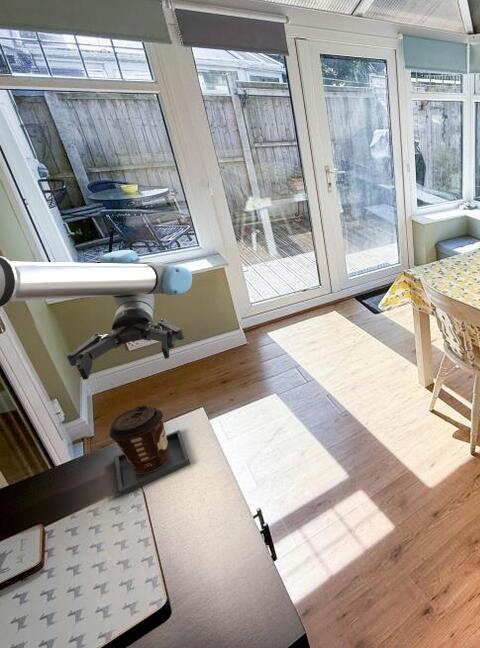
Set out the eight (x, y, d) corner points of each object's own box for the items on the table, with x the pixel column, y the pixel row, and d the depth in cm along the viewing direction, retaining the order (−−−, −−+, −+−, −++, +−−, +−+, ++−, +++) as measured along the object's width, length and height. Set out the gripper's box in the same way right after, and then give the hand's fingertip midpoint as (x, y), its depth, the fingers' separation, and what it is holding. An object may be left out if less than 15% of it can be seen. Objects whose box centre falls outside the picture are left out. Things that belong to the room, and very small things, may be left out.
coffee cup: (167, 441, 97) (150, 397, 92) (184, 456, 93) (168, 412, 88) (120, 467, 90) (99, 421, 85) (137, 485, 86) (116, 438, 81)
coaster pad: (121, 497, 84) (118, 491, 83) (116, 462, 92) (114, 456, 91) (191, 465, 92) (188, 459, 91) (181, 435, 99) (179, 429, 98)
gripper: (196, 320, 114) (199, 359, 99) (71, 349, 100) (52, 398, 85) (189, 296, 111) (191, 332, 96) (59, 322, 97) (37, 368, 82)
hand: (126, 363), depth 90 cm, fingers open, 13 cm apart
